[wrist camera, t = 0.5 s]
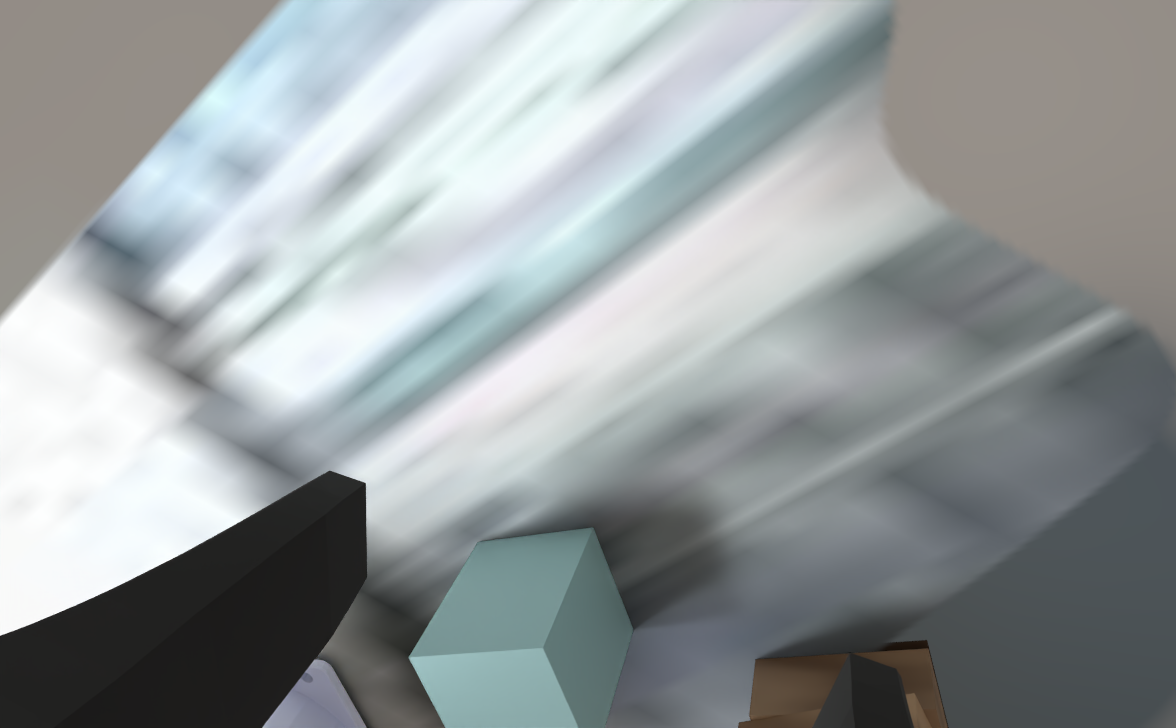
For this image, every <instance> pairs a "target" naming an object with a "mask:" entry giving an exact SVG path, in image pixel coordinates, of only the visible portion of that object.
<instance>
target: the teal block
mask: <svg viewBox="0 0 1176 728" xmlns="http://www.w3.org/2000/svg"><path fill="white" fill-rule="evenodd" d="M632 634H633V627H632V625H631V622H630V620H629V617H628V615H627V612H626V609H625V607H624V604H623V602H622V599H621V597H620V594H619V592H618V589H617V587H616V584H615V582H614V579H613V576H612V574H611V571H610V569H609V566H608V564H607V561H606V559H605V556H604V554H603V551H602V549H601V546H600V543H599V541H598V538H597V536H596V533H595V531H594V528H593V527H592V528H584V529H576V530H568V531H560V532H552V533H545V534H537V535H529V536H521V537H513V538H505V539H497V540H489V541H481V542H478V543H477V545H476V546H475V548H474V550H473V551H472V553H471V555H470V556H469V558H468V560H467V561H466V563H465V565H464V566H463V568H462V569H461V571H460V573H459V574H458V576H457V578H456V579H455V581H454V583H453V584H452V586H451V588H450V589H449V591H448V593H447V594H446V596H445V598H444V599H443V601H442V603H441V604H440V606H439V608H438V609H437V611H436V613H435V614H434V616H433V618H432V619H431V621H430V623H429V624H428V626H427V628H426V629H425V631H424V633H423V634H422V636H421V638H420V639H419V641H418V643H417V644H416V646H415V648H414V649H413V651H412V653H411V654H410V656H409V659H410V661H411V663H412V665H413V667H414V669H415V671H416V672H417V674H418V676H419V678H420V680H421V682H422V684H423V686H424V688H425V690H426V692H427V694H428V695H429V697H430V699H431V701H432V703H433V705H434V707H435V709H436V711H437V713H438V715H439V716H440V718H441V720H442V722H443V724H444V726H445V728H605V725H606V722H607V718H608V715H609V712H610V708H611V705H612V701H613V698H614V695H615V691H616V688H617V684H618V681H619V678H620V674H621V671H622V668H623V664H624V661H625V657H626V654H627V651H628V647H629V644H630V640H631V637H632Z"/></svg>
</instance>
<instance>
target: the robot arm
mask: <svg viewBox="0 0 1176 728" xmlns="http://www.w3.org/2000/svg"><path fill="white" fill-rule="evenodd" d="M366 578H367V542H366V483H364V482H361V481H358V480H355V479H352V478H349V477H346V476H344V475H341V474H338V473H335V472H332V471H328V472H326V473H325V474H323V475H321V476H319V477H317V478H316V479H314V480H312V481H310V482H308V483H307V484H305V485H303V486H301V487H300V488H298V489H296V490H294V491H293V492H291V493H289V494H288V495H286V496H284V497H282V498H281V499H279V500H277V501H276V502H274V503H272V504H270V505H269V506H267V507H265V508H263V509H262V510H260V511H258V512H257V513H255V514H253V515H251V516H250V517H248V518H246V519H244V520H243V521H241V522H239V523H237V524H236V525H234V526H232V527H230V528H228V529H226V530H225V531H223V532H221V533H219V534H217V535H216V536H214V537H212V538H210V539H208V540H207V541H205V542H203V543H201V544H199V545H198V546H196V547H194V548H192V549H190V550H188V551H187V552H185V553H183V554H181V555H179V556H177V557H175V558H173V559H171V560H169V561H167V562H165V563H163V564H161V565H159V566H157V567H155V568H153V569H151V570H149V571H147V572H145V573H143V574H141V575H139V576H137V577H135V578H133V579H131V580H129V581H127V582H125V583H123V584H121V585H119V586H117V587H115V588H113V589H111V590H109V591H107V592H104V593H102V594H100V595H98V596H96V597H94V598H91V599H89V600H87V601H85V602H82V603H80V604H78V605H76V606H74V607H71V608H69V609H66V610H64V611H62V612H59V613H57V614H55V615H52V616H50V617H47V618H45V619H43V620H40V621H38V622H35V623H33V624H30V625H28V626H25V627H23V628H20V629H18V630H15V631H12V632H10V633H7V634H4V635H1V636H0V728H367V727H366V725H365V724H364V722H363V720H362V718H361V717H360V715H359V713H358V711H357V710H356V708H355V706H354V704H353V703H352V701H351V699H350V697H349V696H348V694H347V692H346V690H345V689H344V687H343V685H342V683H341V682H340V680H339V678H338V676H337V675H336V673H335V671H334V669H333V668H332V667H331V665H330V664H328V663H327V662H325V661H323V660H315V658H316V657H317V656H318V654H319V653H320V652H321V650H322V649H323V648H324V646H325V645H326V644H327V642H328V641H329V640H330V638H331V637H332V636H333V634H334V632H335V631H336V629H337V627H338V626H339V624H340V622H341V621H342V619H343V618H344V616H345V614H346V613H347V611H348V609H349V608H350V606H351V604H352V602H353V601H354V599H355V597H356V595H357V594H358V592H359V590H360V589H361V587H362V585H363V583H364V582H365V580H366ZM812 728H914V725H913V722H912V718H911V714H910V711H909V707H908V703H907V699H906V695H905V691H904V687H903V682H902V678H901V676H900V674H899V673H898V671H897V669H896V668H893V667H890V666H887V665H884V664H881V663H879V662H876V661H873V660H870V659H867V658H864V657H861V656H859V655H856V654H853V653H849V655H848V657H847V659H846V661H845V663H844V665H843V667H842V669H841V671H840V673H839V675H838V677H837V679H836V681H835V683H834V685H833V687H832V689H831V691H830V693H829V695H828V697H827V699H826V701H825V703H824V705H823V707H822V709H821V711H820V713H819V715H818V717H817V719H816V721H815V723H814V725H813V727H812Z"/></svg>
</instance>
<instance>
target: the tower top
mask: <svg viewBox="0 0 1176 728" xmlns="http://www.w3.org/2000/svg"><path fill="white" fill-rule="evenodd" d="M906 699H907V703H908V707H909V711H910V714H911V718H912V722H913V725H914V728H932V727H931V725H930V723H929V721H928V719H927V717H926V715H925V713H924V711H923V709H922V707H921V705H920V703H919V701H918V699H917V697H916V695H915V693H912V694H906ZM820 711H821V709H817V710H811V711H805V712H799V713H793V714H787V715H781V716H775V717H769V718H763V719H757V720H751V721H745V722H739V725H738V728H812V727H813V725H814V723H815V721H816V719H817V717H818V715H819V713H820Z"/></svg>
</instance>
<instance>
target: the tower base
mask: <svg viewBox="0 0 1176 728" xmlns="http://www.w3.org/2000/svg"><path fill="white" fill-rule="evenodd" d="M853 654H856V655H859V656H861V657H864V658H867V659H870V660H873V661H876V662H879V663H881V664H884V665H887V666H890V667H893V668H896V669H897V671H898V673H899V674H900V676H901V678H902V682H903V687H904V691H905V695H906V694H912V693H915V695H916V697H917V699H918V701H919V703H920V705H921V707H922V709H923V711H924V713H925V715H926V717H927V719H928V721H929V723H930V725H931V727H932V728H949V727H948V723H947V719H946V715H945V711H944V707H943V703H942V699H941V694H940V690H939V686H938V683H937V678H936V674H935V670H934V666H933V662H932V658H931V654H930V650H929V645H928V641H927V640H919V641H904V642H890V643H888V644H887V645H885V646H884V647H882V648H881V649H879V651H878V652H864V653H853ZM848 655H849V653H848V654H832V655H816V656H800V657H785V658H769V659H756V660H755V669H754V678H753V687H752V696H751V705H750V714H749V717H750V719H751V720H757V719H763V718H769V717H775V716H781V715H787V714H793V713H799V712H805V711H811V710H817V709H822V707H823V705H824V703H825V701H826V699H827V697H828V695H829V693H830V691H831V689H832V687H833V685H834V683H835V681H836V679H837V677H838V675H839V673H840V671H841V669H842V667H843V665H844V663H845V661H846V659H847V657H848Z"/></svg>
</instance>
